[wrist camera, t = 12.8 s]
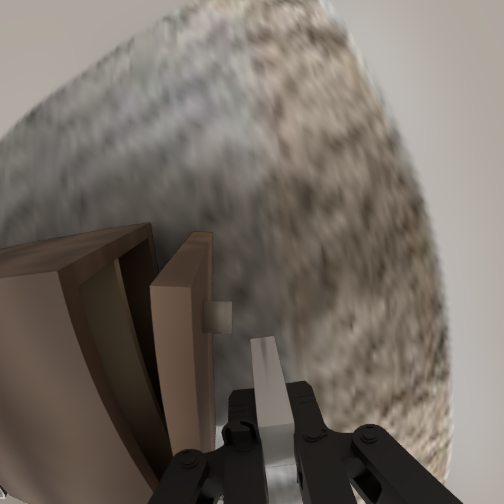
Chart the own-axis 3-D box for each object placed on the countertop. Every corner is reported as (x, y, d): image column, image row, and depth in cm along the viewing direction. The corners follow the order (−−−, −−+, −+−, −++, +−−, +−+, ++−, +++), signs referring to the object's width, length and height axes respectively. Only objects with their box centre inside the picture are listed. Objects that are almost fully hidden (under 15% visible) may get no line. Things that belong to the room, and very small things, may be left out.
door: (201, 433, 22) (194, 533, 12) (192, 231, 18) (149, 285, 8) (230, 434, 22) (233, 535, 12) (232, 232, 18) (233, 288, 8)
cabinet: (54, 419, 21) (10, 495, 11) (-9, 251, 18) (-105, 292, 7) (198, 427, 22) (188, 538, 11) (150, 222, 18) (57, 271, 7)
